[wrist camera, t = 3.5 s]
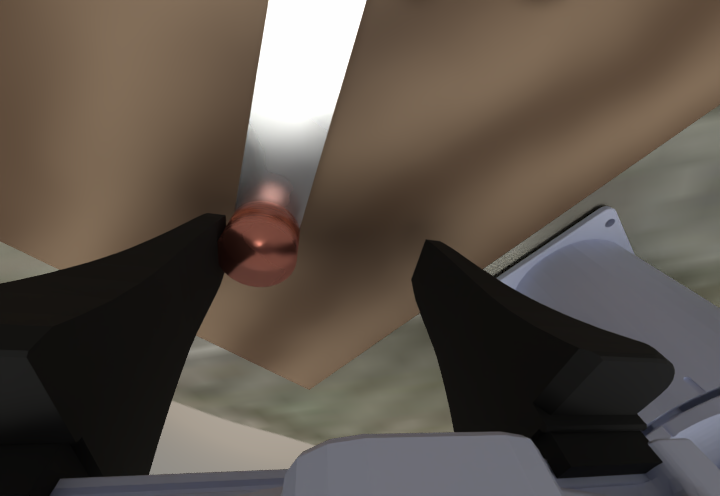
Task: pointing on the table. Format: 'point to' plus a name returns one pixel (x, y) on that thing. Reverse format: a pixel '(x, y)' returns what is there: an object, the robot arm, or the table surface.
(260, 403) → the table surface
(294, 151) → the lever
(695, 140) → the table surface
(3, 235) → the board
